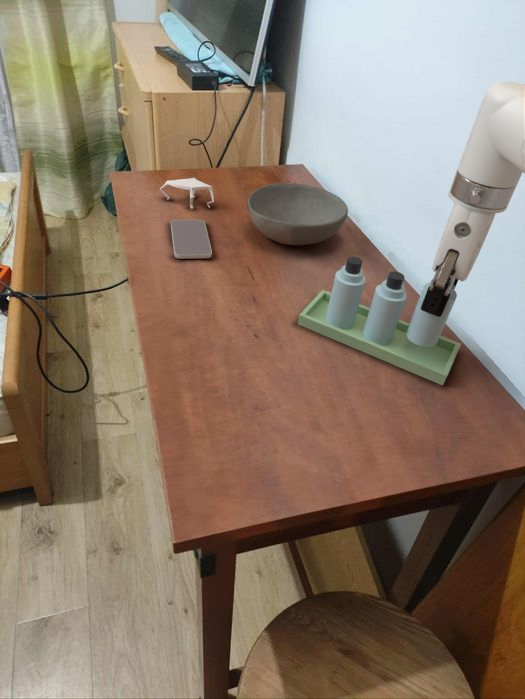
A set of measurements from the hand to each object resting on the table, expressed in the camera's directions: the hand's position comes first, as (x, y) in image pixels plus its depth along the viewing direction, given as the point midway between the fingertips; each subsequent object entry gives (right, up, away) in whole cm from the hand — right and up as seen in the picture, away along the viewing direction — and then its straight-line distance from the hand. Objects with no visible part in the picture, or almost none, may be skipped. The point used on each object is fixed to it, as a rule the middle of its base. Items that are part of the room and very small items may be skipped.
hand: (436, 302), depth 78 cm
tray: (-7, -5, +9) cm, 13 cm away
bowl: (-20, +18, +34) cm, 43 cm away
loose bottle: (-1, -5, +5) cm, 7 cm away
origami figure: (-44, +27, +41) cm, 66 cm away
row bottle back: (-13, -2, +11) cm, 17 cm away
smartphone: (-41, +15, +28) cm, 52 cm away
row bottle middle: (-7, -5, +9) cm, 12 cm away
